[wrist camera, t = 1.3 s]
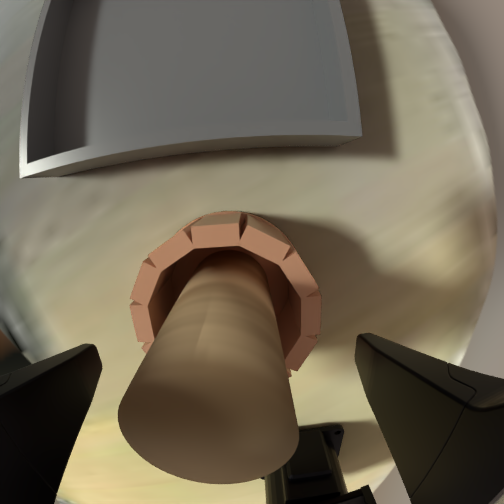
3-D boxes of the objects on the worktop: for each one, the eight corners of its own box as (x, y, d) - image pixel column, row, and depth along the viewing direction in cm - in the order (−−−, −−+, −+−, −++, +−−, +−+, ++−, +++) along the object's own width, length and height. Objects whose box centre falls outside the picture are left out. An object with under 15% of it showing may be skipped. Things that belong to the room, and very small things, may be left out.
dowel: (270, 320, 15) (295, 480, 6) (196, 323, 15) (147, 477, 6) (266, 247, 14) (303, 367, 5) (187, 252, 14) (93, 367, 5)
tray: (337, 146, 14) (362, 136, 10) (57, 177, 14) (19, 178, 10) (306, -41, 11) (315, -72, 7) (76, -4, 11) (54, -25, 7)
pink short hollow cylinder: (302, 342, 16) (318, 389, 12) (171, 348, 16) (151, 395, 12) (301, 206, 15) (323, 215, 10) (150, 217, 15) (114, 230, 10)
